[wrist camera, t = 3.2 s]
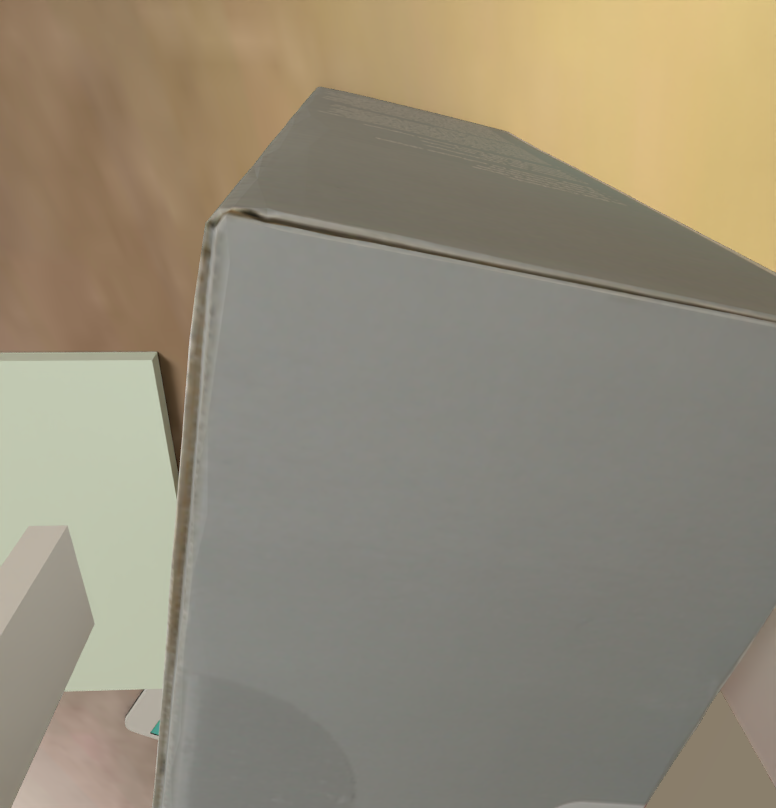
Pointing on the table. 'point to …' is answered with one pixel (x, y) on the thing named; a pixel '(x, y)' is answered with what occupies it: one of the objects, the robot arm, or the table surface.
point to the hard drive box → (458, 478)
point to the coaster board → (96, 495)
